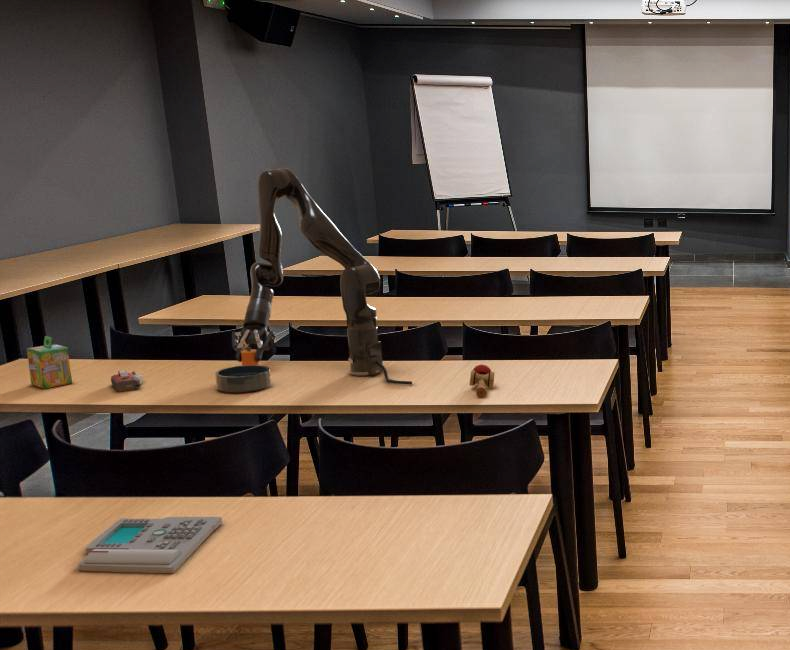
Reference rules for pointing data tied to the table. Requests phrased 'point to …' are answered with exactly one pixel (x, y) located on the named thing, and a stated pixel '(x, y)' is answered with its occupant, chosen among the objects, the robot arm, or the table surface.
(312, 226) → the robot arm
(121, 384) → the grey and red device
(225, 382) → the bowl
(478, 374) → the kendama
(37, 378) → the chalk box
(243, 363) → the squash
